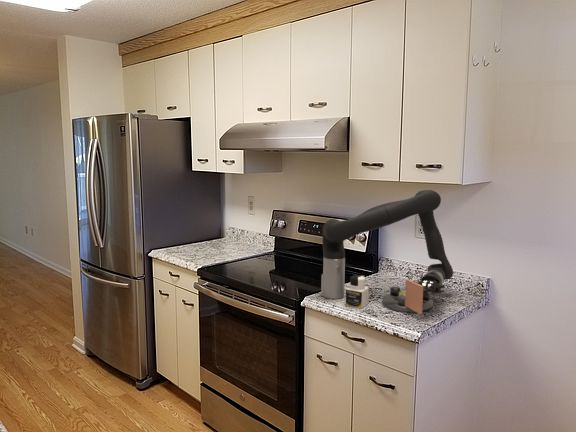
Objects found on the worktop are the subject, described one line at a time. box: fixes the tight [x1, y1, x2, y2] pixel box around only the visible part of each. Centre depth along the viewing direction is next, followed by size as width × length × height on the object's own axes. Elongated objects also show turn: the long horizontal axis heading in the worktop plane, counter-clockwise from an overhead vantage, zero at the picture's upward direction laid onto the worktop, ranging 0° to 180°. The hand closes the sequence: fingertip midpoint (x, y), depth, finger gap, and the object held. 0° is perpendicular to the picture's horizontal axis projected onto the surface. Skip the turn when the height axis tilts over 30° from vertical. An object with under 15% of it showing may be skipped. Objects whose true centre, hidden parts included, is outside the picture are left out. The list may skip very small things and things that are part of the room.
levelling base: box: [381, 286, 434, 314], centre depth 189 cm, size 20×20×5 cm
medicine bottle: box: [345, 274, 370, 309], centre depth 189 cm, size 7×7×12 cm
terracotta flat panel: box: [398, 278, 423, 315], centre depth 178 cm, size 14×4×11 cm, turn 19°
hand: (423, 292), depth 172 cm, fingers closed
